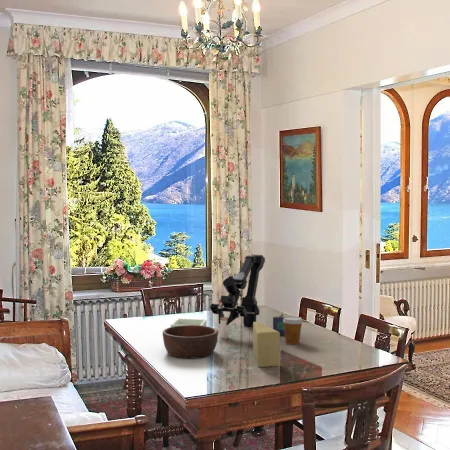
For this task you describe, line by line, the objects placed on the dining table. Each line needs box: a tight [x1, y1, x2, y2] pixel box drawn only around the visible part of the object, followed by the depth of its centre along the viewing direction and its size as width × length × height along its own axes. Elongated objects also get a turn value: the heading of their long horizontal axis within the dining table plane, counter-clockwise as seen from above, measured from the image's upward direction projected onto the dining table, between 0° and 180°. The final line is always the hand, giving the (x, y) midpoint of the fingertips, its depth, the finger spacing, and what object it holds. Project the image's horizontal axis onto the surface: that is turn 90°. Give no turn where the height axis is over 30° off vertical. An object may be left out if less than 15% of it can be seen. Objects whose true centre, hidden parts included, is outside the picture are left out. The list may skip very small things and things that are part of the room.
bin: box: [170, 318, 208, 327], centre depth 331 cm, size 16×16×4 cm
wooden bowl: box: [162, 325, 219, 359], centre depth 284 cm, size 25×25×10 cm
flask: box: [272, 313, 285, 336], centre depth 321 cm, size 9×3×11 cm, turn 88°
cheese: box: [252, 321, 281, 368], centre depth 272 cm, size 22×10×15 cm, turn 13°
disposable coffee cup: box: [283, 315, 304, 345], centre depth 303 cm, size 10×10×12 cm
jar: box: [219, 316, 229, 340], centre depth 313 cm, size 4×4×10 cm
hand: (223, 324), depth 312 cm, fingers closed on jar, 4 cm apart
